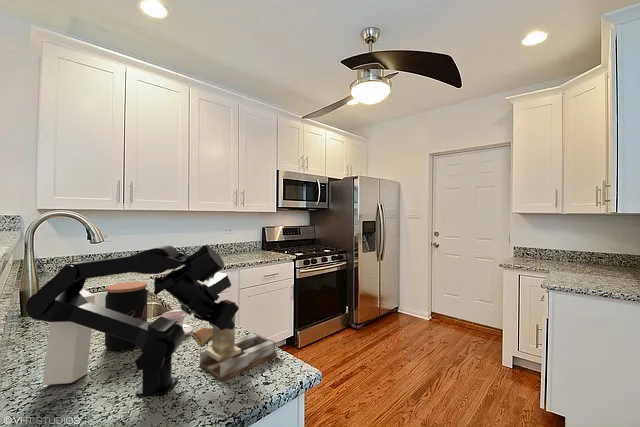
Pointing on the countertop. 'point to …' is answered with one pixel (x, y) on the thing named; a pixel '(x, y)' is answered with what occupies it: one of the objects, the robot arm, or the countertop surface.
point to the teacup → (178, 319)
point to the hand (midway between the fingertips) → (228, 325)
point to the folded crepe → (203, 335)
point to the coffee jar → (125, 309)
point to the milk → (67, 350)
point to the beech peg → (223, 343)
